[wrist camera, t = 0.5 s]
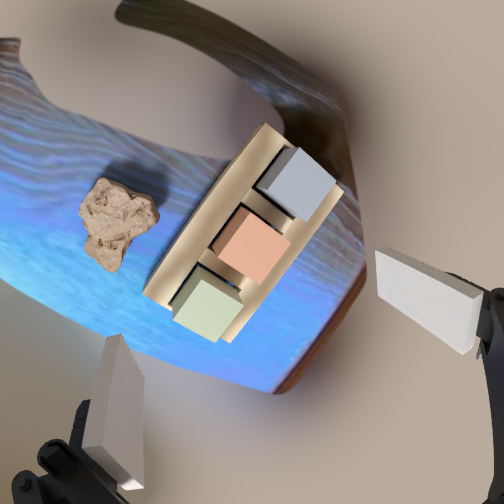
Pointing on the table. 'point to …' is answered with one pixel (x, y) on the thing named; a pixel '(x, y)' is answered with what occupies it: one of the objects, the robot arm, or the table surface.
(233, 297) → the sage block
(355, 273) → the table surface
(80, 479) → the robot arm
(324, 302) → the table surface
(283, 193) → the slate block
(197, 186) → the table surface
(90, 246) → the stone
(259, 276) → the terracotta block
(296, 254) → the socket board
